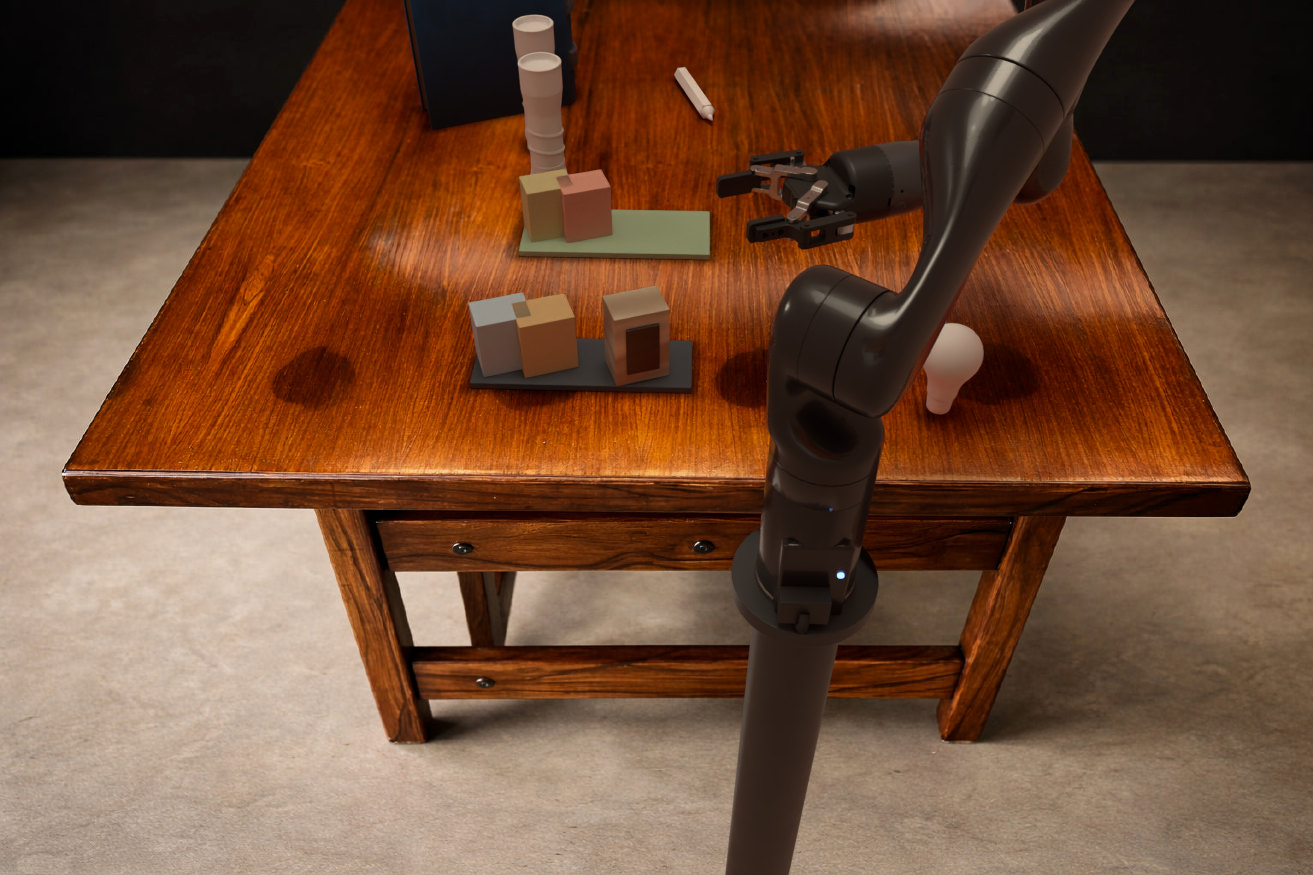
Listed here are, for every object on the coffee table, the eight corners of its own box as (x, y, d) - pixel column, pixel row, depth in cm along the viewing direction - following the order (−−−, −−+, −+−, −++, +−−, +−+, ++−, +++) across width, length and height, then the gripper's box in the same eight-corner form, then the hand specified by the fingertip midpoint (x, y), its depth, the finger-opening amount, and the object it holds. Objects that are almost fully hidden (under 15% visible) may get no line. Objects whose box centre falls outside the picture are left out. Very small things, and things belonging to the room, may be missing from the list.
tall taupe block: (670, 377, 111) (670, 310, 105) (617, 388, 110) (614, 322, 103) (657, 350, 114) (656, 285, 108) (605, 361, 113) (602, 295, 107)
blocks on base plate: (691, 393, 110) (693, 337, 105) (470, 388, 111) (460, 332, 106) (692, 346, 116) (693, 290, 111) (481, 341, 117) (472, 286, 111)
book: (568, 78, 164) (553, -130, 143) (585, 101, 158) (573, -111, 137) (419, 104, 158) (381, -108, 137) (432, 130, 152) (394, -88, 131)
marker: (711, 131, 153) (679, 83, 164) (723, 123, 153) (690, 75, 163) (703, 118, 151) (671, 71, 162) (715, 110, 151) (682, 63, 162)
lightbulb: (978, 417, 108) (1003, 336, 100) (935, 439, 105) (956, 357, 98) (938, 385, 111) (958, 303, 104) (895, 405, 109) (913, 323, 101)
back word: (709, 260, 128) (711, 205, 123) (518, 256, 129) (512, 202, 123) (709, 216, 135) (711, 163, 130) (528, 213, 136) (523, 160, 130)
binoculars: (571, 197, 139) (563, 69, 126) (531, 200, 138) (518, 72, 125) (560, 135, 151) (551, 13, 138) (523, 138, 150) (511, 16, 138)
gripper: (853, 116, 107) (708, 141, 104) (918, 184, 98) (761, 214, 94) (844, 179, 113) (706, 205, 109) (905, 250, 103) (756, 281, 99)
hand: (731, 209), depth 102 cm, fingers open, 8 cm apart
